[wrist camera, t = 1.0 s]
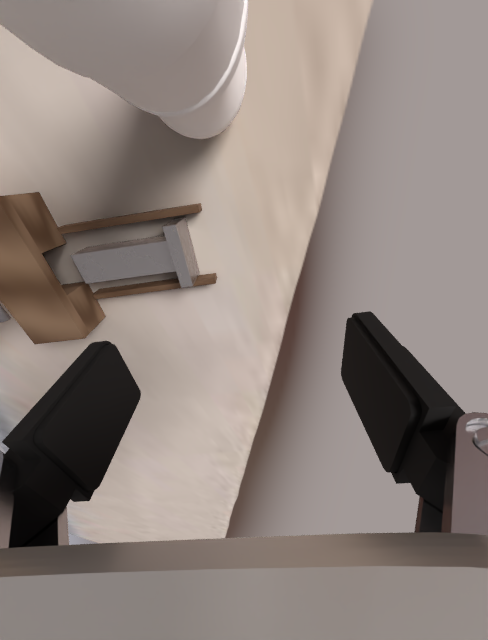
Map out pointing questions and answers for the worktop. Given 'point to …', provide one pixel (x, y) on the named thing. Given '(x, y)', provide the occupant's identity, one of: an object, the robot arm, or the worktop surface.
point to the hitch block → (39, 280)
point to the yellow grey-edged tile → (3, 315)
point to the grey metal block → (142, 257)
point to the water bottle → (147, 52)
